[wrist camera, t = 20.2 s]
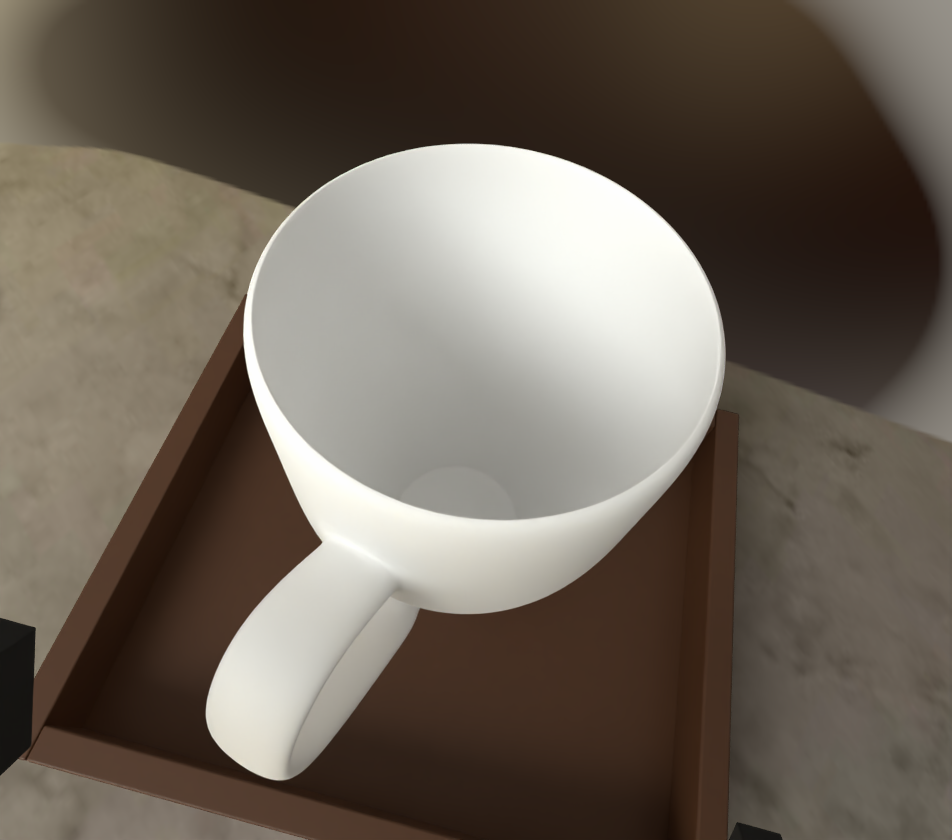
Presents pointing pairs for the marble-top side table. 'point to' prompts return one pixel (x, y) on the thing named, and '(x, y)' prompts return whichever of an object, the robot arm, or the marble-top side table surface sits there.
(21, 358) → the marble-top side table surface
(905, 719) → the marble-top side table surface
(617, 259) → the mug
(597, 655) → the tray
